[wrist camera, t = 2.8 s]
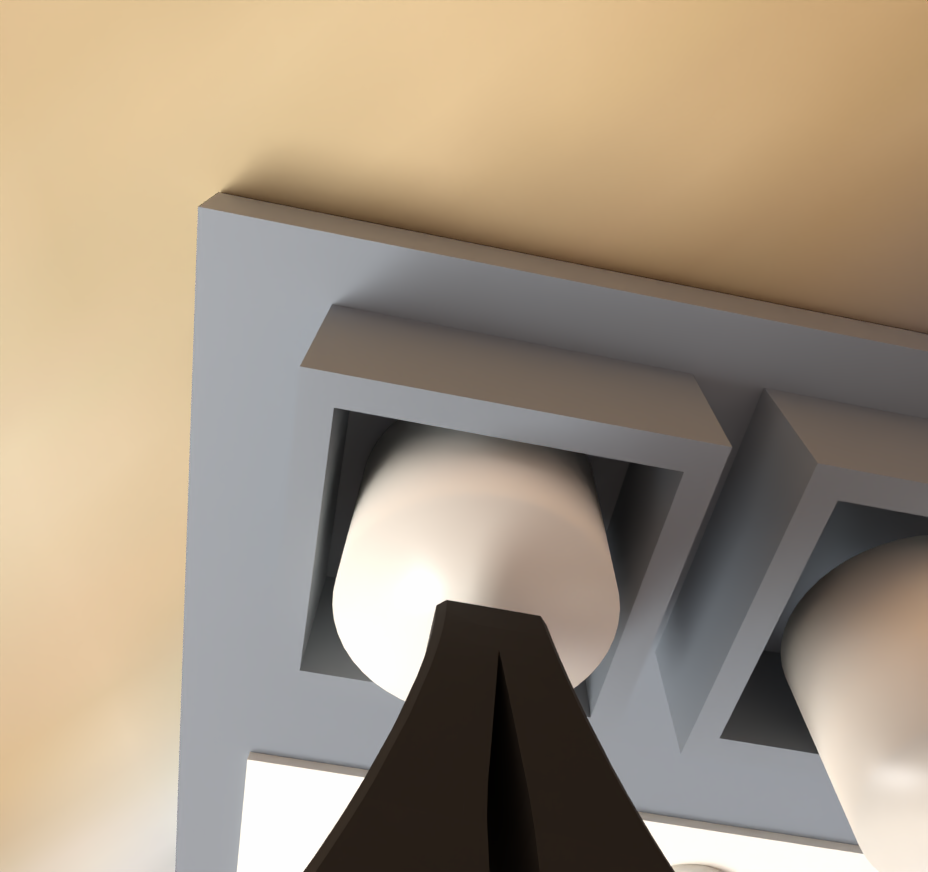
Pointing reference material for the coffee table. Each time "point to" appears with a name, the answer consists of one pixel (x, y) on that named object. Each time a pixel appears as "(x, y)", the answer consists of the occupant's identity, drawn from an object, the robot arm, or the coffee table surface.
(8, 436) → the coffee table surface
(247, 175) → the coffee table surface
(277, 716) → the console
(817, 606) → the button middle
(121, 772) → the coffee table surface
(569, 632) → the button
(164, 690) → the coffee table surface
